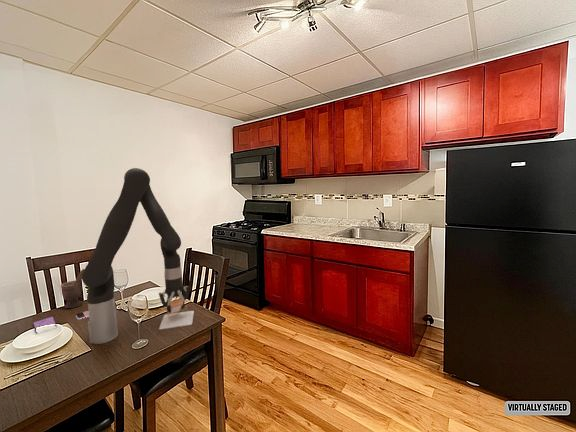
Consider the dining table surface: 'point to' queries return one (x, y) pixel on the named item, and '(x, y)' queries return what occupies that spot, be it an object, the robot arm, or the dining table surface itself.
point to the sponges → (44, 322)
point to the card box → (175, 306)
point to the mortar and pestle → (72, 292)
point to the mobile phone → (82, 315)
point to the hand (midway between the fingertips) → (176, 310)
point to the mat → (177, 320)
